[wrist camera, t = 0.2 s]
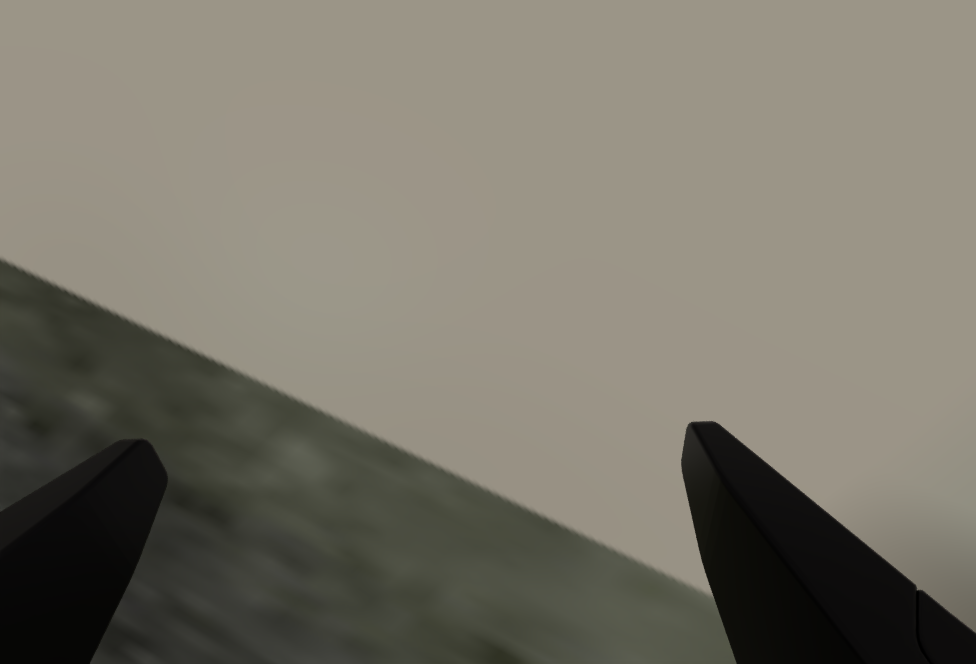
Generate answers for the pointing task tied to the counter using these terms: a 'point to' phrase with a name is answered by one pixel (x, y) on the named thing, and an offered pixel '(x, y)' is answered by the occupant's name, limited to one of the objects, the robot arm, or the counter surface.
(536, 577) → the counter surface
